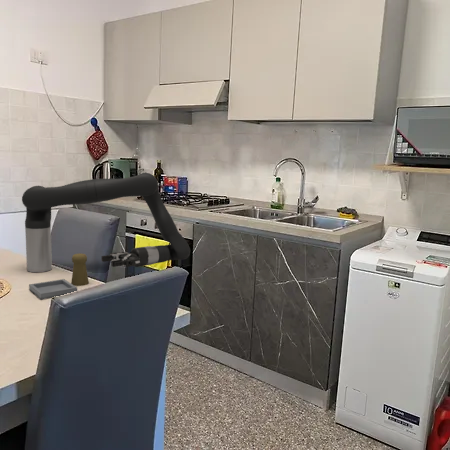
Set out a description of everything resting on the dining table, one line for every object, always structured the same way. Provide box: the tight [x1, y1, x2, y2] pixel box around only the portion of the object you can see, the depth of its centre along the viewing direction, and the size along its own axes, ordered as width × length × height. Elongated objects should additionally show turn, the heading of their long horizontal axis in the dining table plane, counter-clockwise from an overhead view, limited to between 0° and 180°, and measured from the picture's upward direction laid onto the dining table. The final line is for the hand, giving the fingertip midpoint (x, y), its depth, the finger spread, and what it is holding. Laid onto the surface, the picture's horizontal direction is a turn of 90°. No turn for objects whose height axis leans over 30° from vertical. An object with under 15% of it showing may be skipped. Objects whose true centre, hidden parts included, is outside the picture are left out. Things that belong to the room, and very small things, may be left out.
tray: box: [28, 278, 78, 300], centre depth 150 cm, size 12×12×2 cm
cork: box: [70, 253, 90, 287], centre depth 160 cm, size 6×6×11 cm
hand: (106, 261), depth 166 cm, fingers open, 8 cm apart
